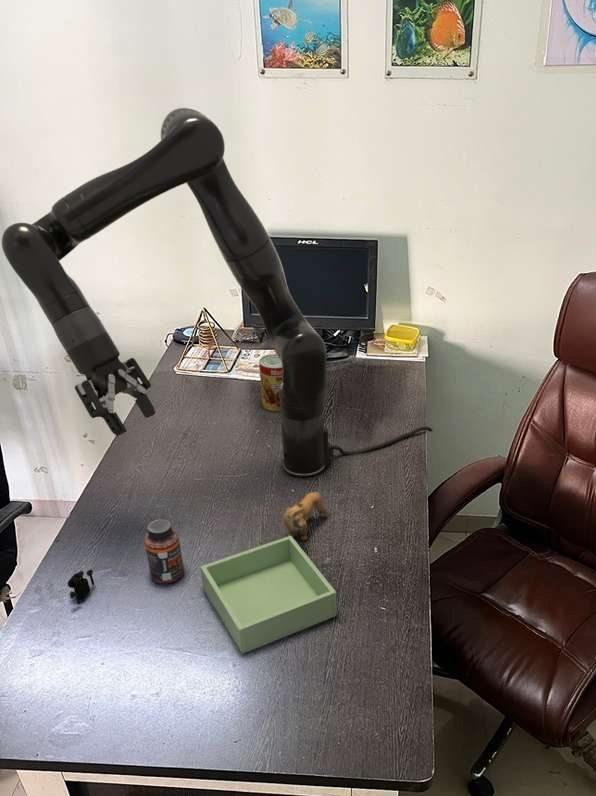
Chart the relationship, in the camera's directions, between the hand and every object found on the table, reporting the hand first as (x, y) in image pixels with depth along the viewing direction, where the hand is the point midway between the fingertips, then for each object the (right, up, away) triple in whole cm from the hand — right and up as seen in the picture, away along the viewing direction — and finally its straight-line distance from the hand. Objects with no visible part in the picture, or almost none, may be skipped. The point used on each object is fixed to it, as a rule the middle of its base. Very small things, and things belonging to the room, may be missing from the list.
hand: (136, 424), depth 130 cm
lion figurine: (+28, -19, +18) cm, 39 cm away
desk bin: (+23, -31, +1) cm, 39 cm away
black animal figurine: (-10, -30, +2) cm, 32 cm away
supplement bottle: (+4, -27, +7) cm, 28 cm away
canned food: (+17, +11, +59) cm, 63 cm away
